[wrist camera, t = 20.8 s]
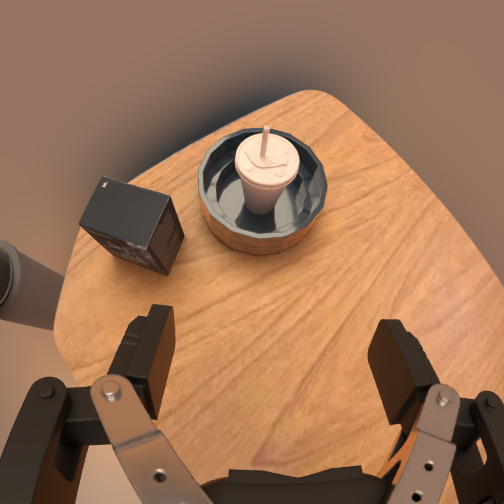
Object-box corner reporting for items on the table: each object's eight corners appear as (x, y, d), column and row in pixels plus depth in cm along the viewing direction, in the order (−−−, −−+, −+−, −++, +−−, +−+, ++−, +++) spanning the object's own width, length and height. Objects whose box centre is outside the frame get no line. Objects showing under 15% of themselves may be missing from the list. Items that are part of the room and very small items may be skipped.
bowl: (205, 260, 37) (201, 243, 32) (200, 159, 42) (196, 131, 36) (323, 250, 39) (338, 232, 33) (303, 153, 43) (312, 127, 37)
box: (112, 256, 37) (76, 223, 27) (130, 216, 39) (102, 173, 28) (168, 277, 36) (145, 249, 26) (186, 234, 38) (171, 193, 28)
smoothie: (242, 173, 41) (247, 97, 27) (290, 186, 40) (314, 114, 27) (227, 217, 39) (226, 148, 25) (278, 231, 38) (302, 168, 25)
